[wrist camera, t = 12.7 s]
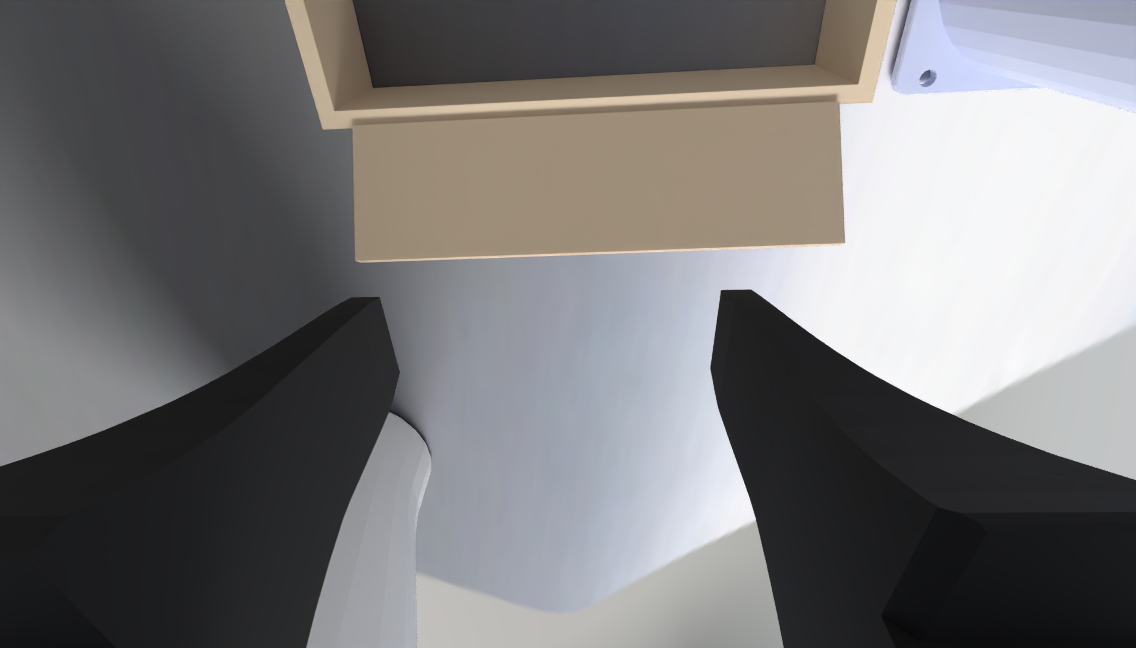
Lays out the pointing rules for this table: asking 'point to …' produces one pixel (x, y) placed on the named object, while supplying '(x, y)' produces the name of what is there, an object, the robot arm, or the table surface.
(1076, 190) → the table surface
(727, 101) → the carton
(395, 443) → the vase
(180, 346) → the table surface
